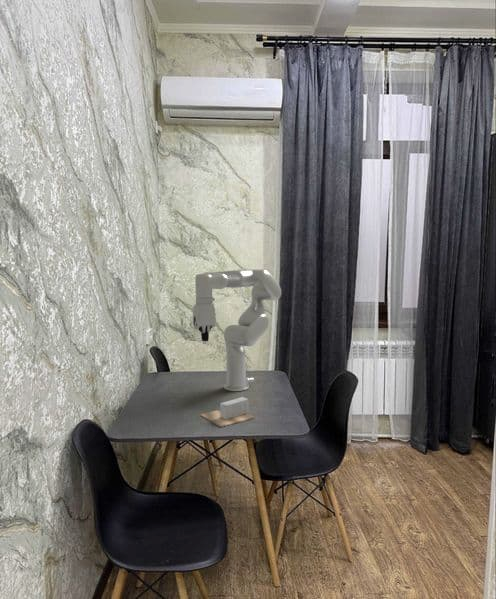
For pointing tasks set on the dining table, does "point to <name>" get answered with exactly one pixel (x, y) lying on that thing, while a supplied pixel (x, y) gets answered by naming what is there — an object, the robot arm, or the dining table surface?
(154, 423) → the dining table surface
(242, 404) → the skincare box
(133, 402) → the dining table surface
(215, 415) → the wooden board
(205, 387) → the dining table surface
